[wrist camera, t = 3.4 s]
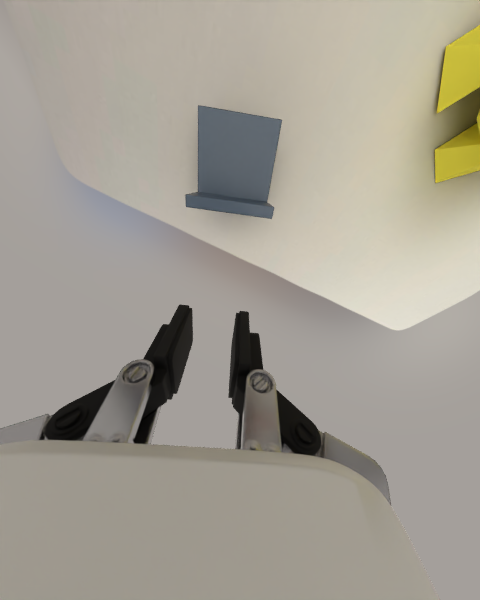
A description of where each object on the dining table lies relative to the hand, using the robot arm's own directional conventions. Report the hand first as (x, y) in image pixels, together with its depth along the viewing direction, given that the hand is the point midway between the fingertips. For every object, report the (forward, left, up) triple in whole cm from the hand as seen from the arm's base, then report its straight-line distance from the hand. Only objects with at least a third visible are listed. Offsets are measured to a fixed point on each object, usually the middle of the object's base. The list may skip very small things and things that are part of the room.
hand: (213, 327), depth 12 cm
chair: (0, +10, -22) cm, 24 cm away
